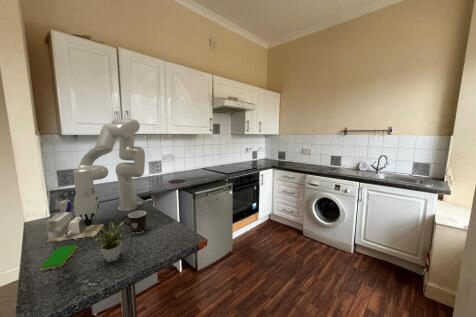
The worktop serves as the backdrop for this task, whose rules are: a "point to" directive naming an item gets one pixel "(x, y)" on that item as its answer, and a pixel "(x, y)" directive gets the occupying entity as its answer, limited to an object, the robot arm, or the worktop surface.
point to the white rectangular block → (76, 226)
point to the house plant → (110, 241)
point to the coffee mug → (137, 221)
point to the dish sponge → (59, 256)
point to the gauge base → (82, 235)
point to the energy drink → (66, 207)
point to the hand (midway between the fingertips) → (88, 225)
